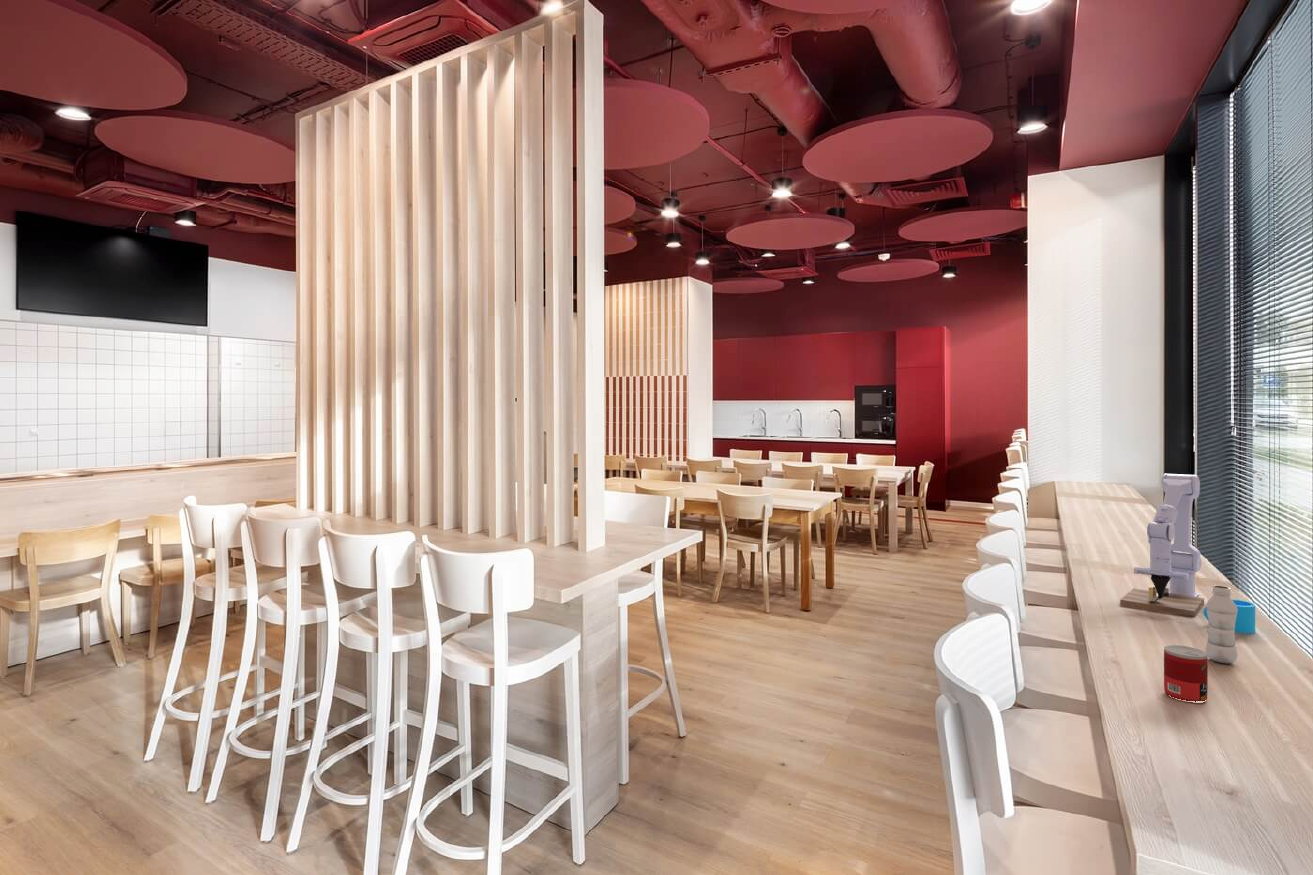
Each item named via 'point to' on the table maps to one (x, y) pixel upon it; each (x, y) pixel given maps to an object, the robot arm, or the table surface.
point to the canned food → (1185, 673)
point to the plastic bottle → (1221, 626)
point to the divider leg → (1155, 593)
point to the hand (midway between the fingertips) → (1160, 597)
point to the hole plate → (1163, 603)
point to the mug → (1242, 617)
